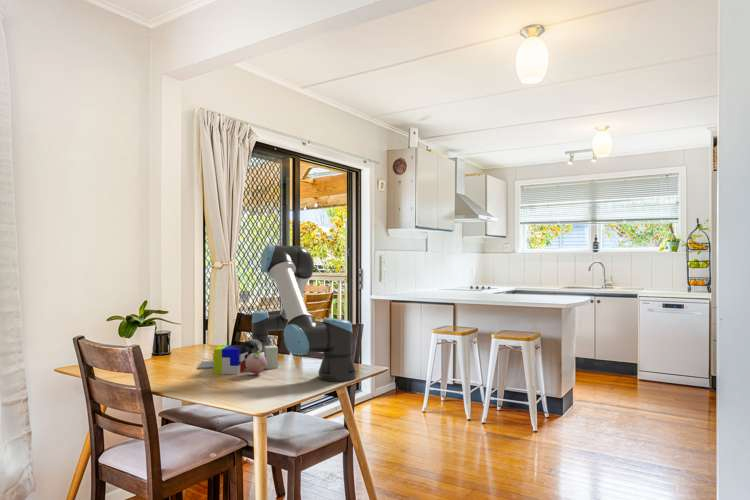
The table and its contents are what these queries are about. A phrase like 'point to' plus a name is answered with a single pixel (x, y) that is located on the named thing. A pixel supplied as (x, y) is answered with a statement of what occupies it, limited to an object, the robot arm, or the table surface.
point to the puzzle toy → (228, 359)
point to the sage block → (271, 356)
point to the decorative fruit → (256, 362)
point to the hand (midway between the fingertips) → (226, 357)
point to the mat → (206, 365)
